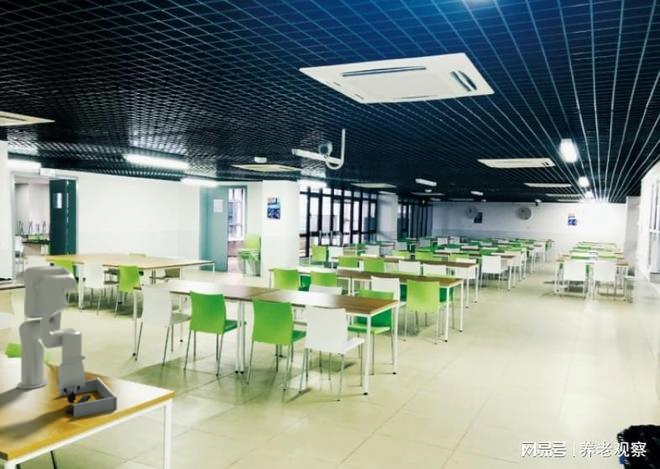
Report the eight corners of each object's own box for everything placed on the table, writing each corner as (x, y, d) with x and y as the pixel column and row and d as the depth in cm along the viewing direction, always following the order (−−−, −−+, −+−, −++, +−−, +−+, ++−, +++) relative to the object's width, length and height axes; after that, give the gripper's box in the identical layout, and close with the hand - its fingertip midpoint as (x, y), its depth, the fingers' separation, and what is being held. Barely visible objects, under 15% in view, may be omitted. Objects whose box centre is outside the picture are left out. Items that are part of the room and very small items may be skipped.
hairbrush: (98, 389, 231) (84, 405, 207) (98, 397, 231) (84, 415, 207) (78, 391, 229) (62, 407, 205) (78, 399, 229) (62, 416, 205)
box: (60, 395, 230) (60, 383, 230) (98, 389, 240) (98, 377, 239) (74, 417, 204) (74, 403, 204) (116, 409, 214) (116, 395, 214)
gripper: (88, 356, 225) (88, 396, 225) (50, 360, 216) (50, 403, 216) (92, 359, 219) (91, 401, 219) (53, 364, 210) (53, 408, 210)
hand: (71, 402), depth 218 cm, fingers closed
